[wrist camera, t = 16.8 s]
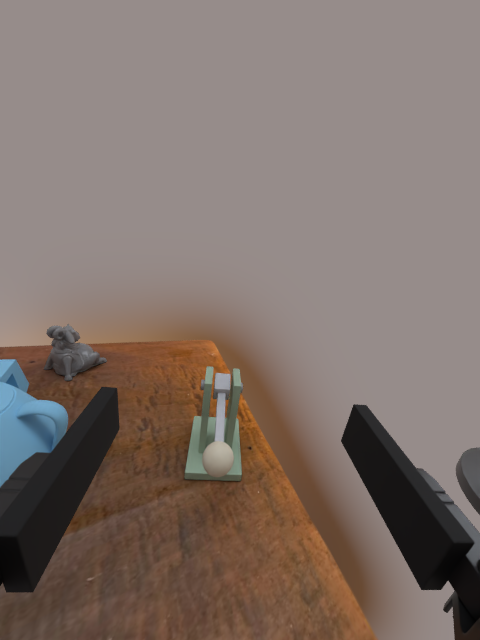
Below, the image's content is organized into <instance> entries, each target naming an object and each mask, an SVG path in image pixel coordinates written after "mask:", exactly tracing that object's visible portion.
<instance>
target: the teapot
mask: <svg viewBox="0 0 480 640" xmlns="http://www.w3.org/2000/svg"><path fill="white" fill-rule="evenodd" d="M28 385H29V383H28V381H27V379H26V377H25V375H24V374H23V372H22V370H21V368H20V366H19V365H18V363H17V361H16V360H0V487H1V486H2V485H3V484H4V482H5V481H6V480H8V479H9V477H10V475H11V474H12V473H13V472H14V471H15V470H16V469H17V467H18V466H19V465H20V464H21V463H22V462H24V461H25V460H26V459H28V458H29V457H31V456H32V455H33V454H35V453H36V452H44V453H51V452H52V450H53V449H54V448H55V447H56V445H57V444H58V443H59V441H60V440H61V439H62V438H63V436H64V435H65V434H66V430H67V425H68V415H67V412H66V410H65V408H64V407H63V406H61V405H60V404H58V403H56V402H52V401H47V400H37V399H35V398H34V397H32V396H30V395H29V394H27V393H26V392H27V389H28Z"/></svg>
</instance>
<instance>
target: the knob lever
mask: <svg viewBox="0 0 480 640" xmlns="http://www.w3.org/2000/svg"><path fill="white" fill-rule="evenodd" d="M229 393H230V374H222V373H216V374H215V383H214V395H213V399H217V409H216V424H215V438H214V442H213V443H211V444H209V445H208V446H207V447H206V449H205V450H204V453H203V456H202V464H203V467H204V469H205V471H206V472H207V473H208V474H209V475H211V476H213V477H222V476H224V475H226V474H227V473H228V472H229V471H230V470H231V468H232V466H233V462H234V455H233V451H232V449H231V448H230V446H229V445H228V444H226V443H225V442H224V424H225V400H228V399H229Z"/></svg>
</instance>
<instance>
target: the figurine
mask: <svg viewBox="0 0 480 640" xmlns="http://www.w3.org/2000/svg"><path fill="white" fill-rule="evenodd" d="M47 335H48V336H49V337H50V338H54V339H53V341H52V346H53V349H52V350H51V353H50V355H49V357H48V359H47V362H46V365H45V367H44V369H45V370H48V369H52V368H54V370H55V372H56V373H57V374H60V375H63V376H65V381H70V380H72V376H75V375H77V373H78V372H83V371H85V370H87V369H89V368H91V367H93V366H96V365H98V364H101V363H104V362H107V361H106V359H105V358H103V357H102V358H100V354H99V353H97V352H94V351H93V349H92V348H91V347H90V346H89V345H86V344H82V343H75V342H76V341H78V339H80V336H79V333H77V332H76V331H75V330H74V329H73V328H72V327H71V326H69V324H68V325H67V326H66V327H63V328H62V327H60V326H52V327H50V328H49V329H48V330H47Z"/></svg>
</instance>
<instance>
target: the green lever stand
mask: <svg viewBox="0 0 480 640" xmlns="http://www.w3.org/2000/svg"><path fill="white" fill-rule="evenodd" d="M212 378H213V367H207V369H206V376H205V380H202V382H201V390H204V395H203V406H202V417H200V416H194V421H193V427H192V433H191V439H190V445H189V451H188V457H187V463H186V469H185V479H195V480H222V481H241V477H242V470H241V455H240V439H239V424H238V419H236V417H237V411H238V404H239V398H240V393H242V390H243V383H241V379H240V370H239V369H233V373H232V381H231V388H230V396H229V403H228V410H227V418H225V424H224V442H225V443H226V444H228V445H229V446H230V448H231V449H232V451H233V455H234V462H233V466H232V468H231V470H230V471H229V472H228V473H227V474H226V475H224V476H222V477H213V476H211V475H209V474H208V473H207V472H206V471H205V469H204V467H203V464H202V456H203V453H204V450H205V449H206V447H207V446H208V445H209V444H211V443H213V442H214V438H215V424H216V417H209V408H210V398H211V389H212Z"/></svg>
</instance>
